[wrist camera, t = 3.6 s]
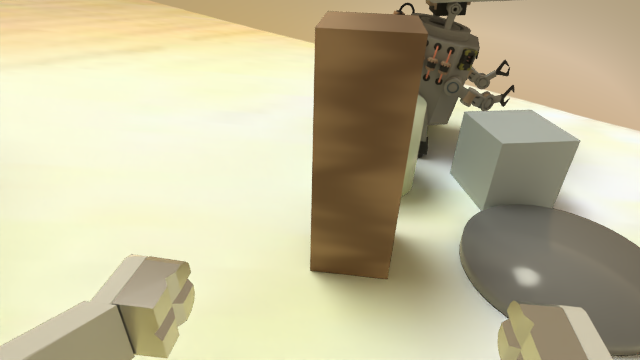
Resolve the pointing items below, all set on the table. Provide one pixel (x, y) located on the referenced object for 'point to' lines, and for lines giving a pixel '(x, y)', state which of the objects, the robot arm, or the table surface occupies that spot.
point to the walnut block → (361, 136)
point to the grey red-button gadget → (451, 65)
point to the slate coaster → (556, 267)
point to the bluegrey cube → (511, 158)
